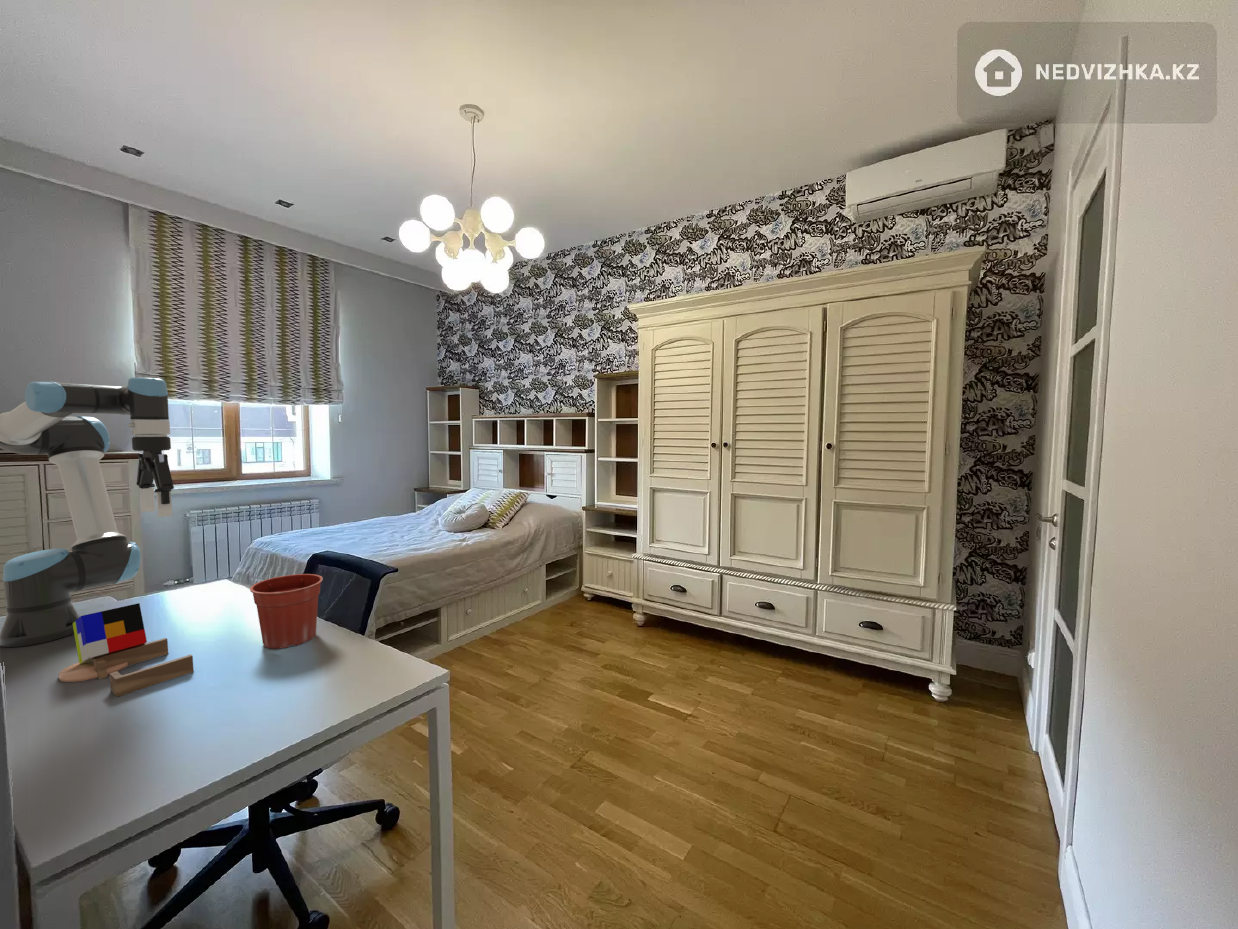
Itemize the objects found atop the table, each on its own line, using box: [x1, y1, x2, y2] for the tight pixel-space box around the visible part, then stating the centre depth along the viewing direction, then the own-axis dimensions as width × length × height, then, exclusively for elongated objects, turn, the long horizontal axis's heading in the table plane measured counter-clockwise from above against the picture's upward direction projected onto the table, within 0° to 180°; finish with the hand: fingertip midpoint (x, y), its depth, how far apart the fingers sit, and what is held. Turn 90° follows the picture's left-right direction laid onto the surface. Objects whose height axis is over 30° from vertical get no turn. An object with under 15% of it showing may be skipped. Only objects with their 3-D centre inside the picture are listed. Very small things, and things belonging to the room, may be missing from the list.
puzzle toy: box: [73, 602, 148, 664], centre depth 120 cm, size 10×10×10 cm
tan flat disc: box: [58, 660, 129, 683], centre depth 117 cm, size 12×12×1 cm
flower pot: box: [249, 573, 324, 650], centre depth 133 cm, size 16×16×16 cm
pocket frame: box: [93, 637, 195, 698], centre depth 115 cm, size 18×13×4 cm
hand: (156, 513), depth 133 cm, fingers open, 13 cm apart
